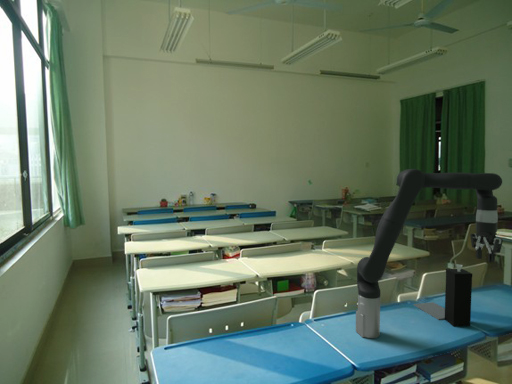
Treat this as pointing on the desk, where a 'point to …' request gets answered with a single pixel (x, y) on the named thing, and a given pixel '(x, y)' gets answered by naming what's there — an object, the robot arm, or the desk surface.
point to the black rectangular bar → (458, 296)
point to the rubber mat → (432, 310)
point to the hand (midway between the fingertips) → (485, 260)
